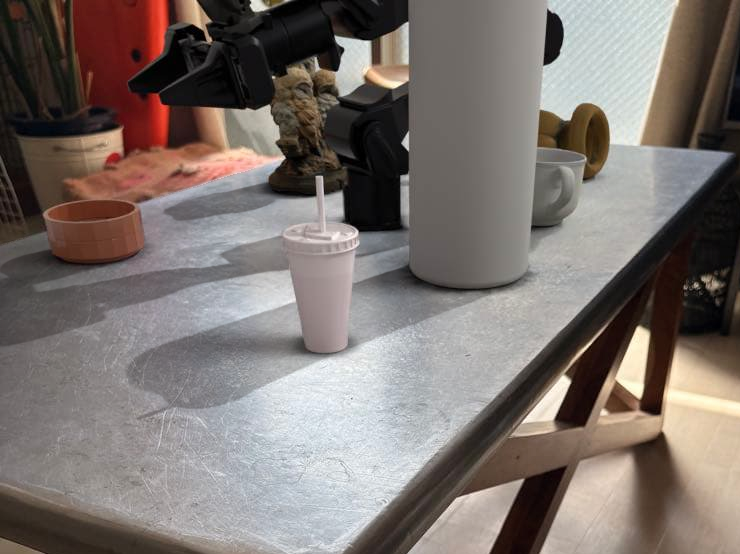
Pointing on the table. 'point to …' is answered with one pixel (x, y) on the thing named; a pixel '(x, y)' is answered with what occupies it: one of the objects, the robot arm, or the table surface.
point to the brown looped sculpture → (578, 135)
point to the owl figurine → (305, 130)
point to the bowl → (95, 230)
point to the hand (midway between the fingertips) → (143, 93)
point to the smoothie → (322, 277)
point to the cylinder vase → (473, 138)
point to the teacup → (556, 185)
